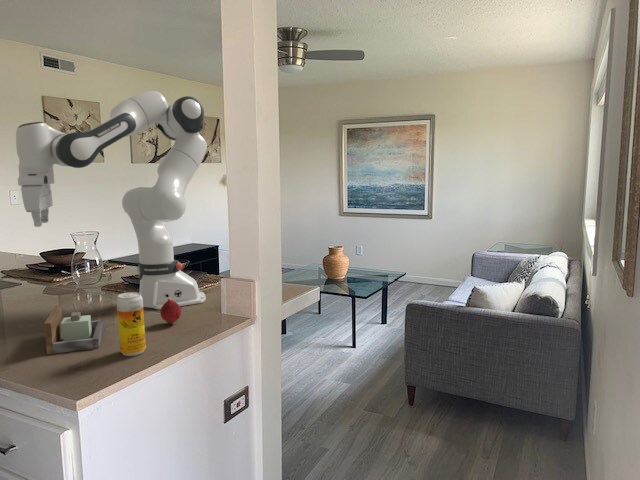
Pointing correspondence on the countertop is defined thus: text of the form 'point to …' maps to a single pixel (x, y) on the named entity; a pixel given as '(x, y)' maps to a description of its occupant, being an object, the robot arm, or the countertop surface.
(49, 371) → the countertop surface
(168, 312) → the onion
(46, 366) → the countertop surface
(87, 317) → the cabinet block
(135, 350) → the beer can
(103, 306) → the countertop surface
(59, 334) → the grey and wood frame
